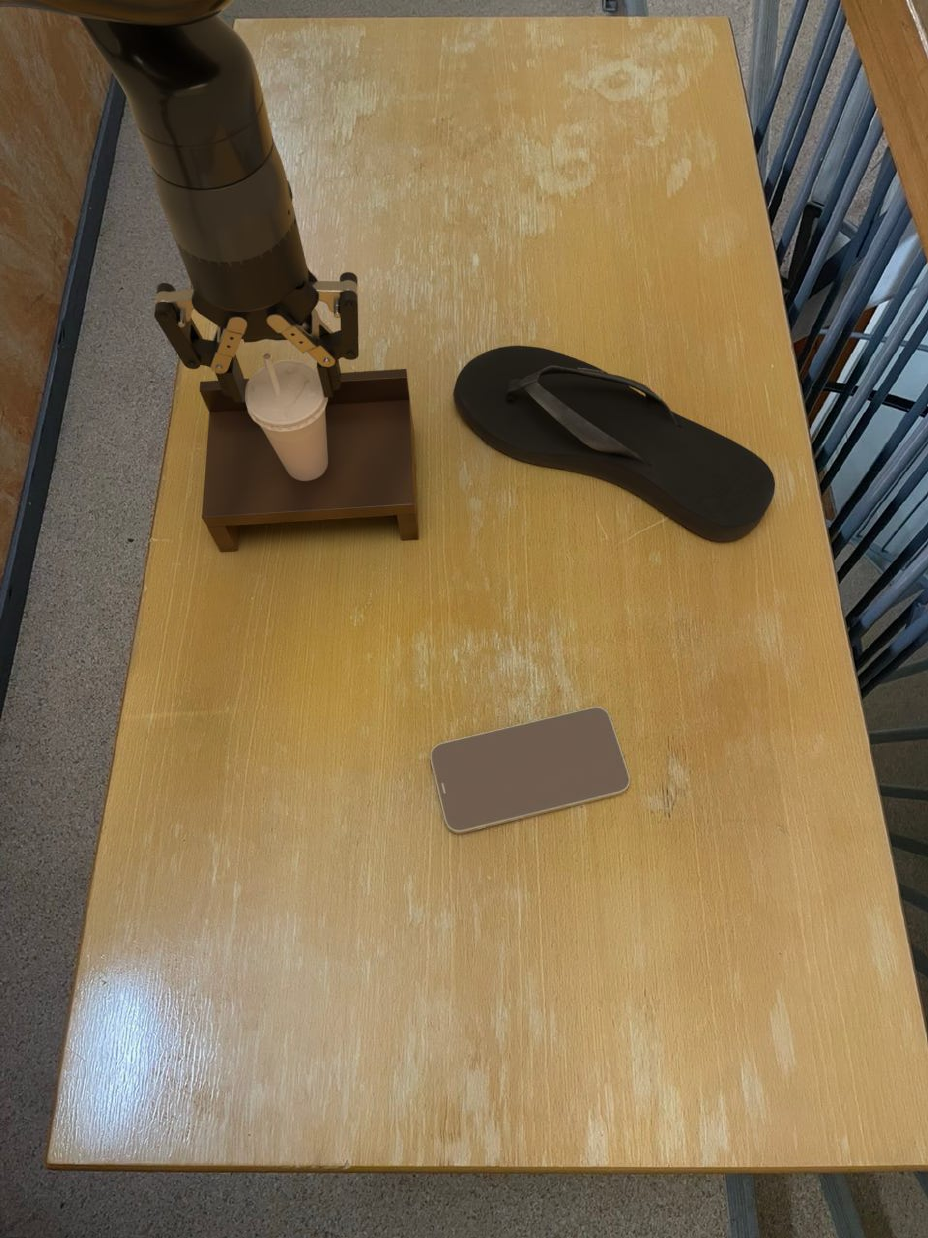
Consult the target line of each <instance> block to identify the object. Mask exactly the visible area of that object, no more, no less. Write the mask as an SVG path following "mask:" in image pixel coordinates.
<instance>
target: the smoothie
mask: <svg viewBox="0 0 928 1238" xmlns="http://www.w3.org/2000/svg"><path fill="white" fill-rule="evenodd" d="M262 358H263V362H264V364H265V365H264V366H262V367H260V368H259V369H257V370H256V371H255V372H254V373H253V374H252V375H251V376H250V378H248V379H249V381H248V383H247V385H246V388H245V402H246V405H247V409H248V413H249V414H250V416H251V417H252V419H253V420H254V421H255V422H256V423H258V424H259V425H260V426H261V428H262V429H263V431H264V433H265V434H266V436H267V438H268V439H269V441H270V443H271V445H272V446H273V448H274V450H275V451H276V453H277V455H278V456H279V458H280V460H281V462H282V463H283V465H284V467H285V468H286V470H287V472H288V473H289V475H290V476H292V477H293V478H295V479H297V480H301V481H309V480H313V479H316V478H318V477H319V476H321V475H322V474H323V473H324V472H325V470H326V468H327V466H328V452H327V435H326V418H325V407H326V404H327V401H328V397H324V394H323V390H322V386H321V382H320V378H319V374H318V370H317V367H315V366H313V365H311V364H310V363H308V362H305V361H303V360H297V359H281V360H280V359H279V360H276V361H273V358H272V356H271V354H270V353H268V352H266V353H264V354H263V355H262Z"/></svg>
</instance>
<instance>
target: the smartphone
mask: <svg viewBox="0 0 928 1238" xmlns="http://www.w3.org/2000/svg"><path fill="white" fill-rule="evenodd" d="M429 757H430V764H431V768H432V769H431V770H432V774H433V778H434V782H435V786H436V790H437V794H438V798H439V803H440V807H441V811H442V815H443V820H444V823H445V826H446V828H447V829H448V830H449V831H450V832H451V833H453V834H457V835H458V834H459V835H461V834H466V833H471V832H474V831H478V830H483V829H486V828H490V827H495V826H499V825H503V824H507V823H511V822H515V821H518V820H522V819H523V820H524V819H527V818H531V817H535V816H539V815H543V814H548V813H550V812H555V811H559V810H563V809H566V808H571V807H574V806H575V807H576V806H579V805H583V804H587V803H591V802H595V801H598V800H599V801H600V800H605V799H607V798H611V797H617V796H619V795H621V794H624V793H625V792H626V791H627V789H628V788H629V786H630V783H631V776H630V773H629V770H628V765H627V763H626V760H625V757H624V754H623V751H622V748H621V744H620V742H619V739H618V736H617V733H616V730H615V727H614V723H613V720H612V717H611V715H610V713H609V712H608V710H607V709H605V708H603V707H602V706H590V707H586V708H581V709H577V710H573V711H568V712H565V713H564V712H563V713H561V714H555V715H552V716H548V717H543V718H540V719H535V720H531V721H526V722H523V723H519V724H518V723H517V724H515V725H510V726H506V727H502V728H498V729H494V730H489V731H485V732H481V733H476V734H472V735H468V736H464V737H459V738H455V739H451V740H447V741H442V742H439V743H437V744H436V745H434V746H433V747H432V748H431V751H430V754H429Z"/></svg>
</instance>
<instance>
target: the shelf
mask: <svg viewBox="0 0 928 1238" xmlns="http://www.w3.org/2000/svg"><path fill="white" fill-rule="evenodd" d="M407 369H408V368H396V369H381V370H379V369H378V370H366V371H363V370H362V371H348V372H341V387H340V389H339V390H334V397H328V401H327V404H326V407H325V418H326V435H327V452H328V466H327V468H326V470H325V472H324V473H323V474H322V475H321V476H319V477H318V478H316V479H313V480H309V481H301V480H297V479H295V478H293V477H292V476H290V475H289V473H288V472H287V470H286V468H285V467H284V465H283V463H282V462H281V460H280V458H279V456H278V455H277V453H276V451H275V450H274V448H273V446H272V445H271V443H270V441H269V439H268V438H267V436H266V434H265V433H264V431H263V429H262V428H261V426H260V425H259V424H258V423H256V422H255V421H254V420H253V419H252V417H251V416H250V414H249V413H248V409H247V405H246V402H245V401H244V402H239V403H235V402H234V400H233V397H232V396H230V397H227V396H226V395H225V394H224V393H223V391H222V389H221V386H220V384H219V381H218V380H207V381H199V392H200V395H201V397H202V400H203V402H204V404H205V406H206V409H207V411H208V422H207V423H208V425H207V438H206V452H205V464H204V465H205V467H204V481H203V494H202V495H203V496H202V509H201V510H202V511H201V519H202V521H203V523H204V525H205V526H206V529H207V530H208V532H209V534H210V536H211V537H212V540H213V541H214V543H215V545H216V547H217V549H218V551H219V552H220V553H226V552H228V553H230V552H238V551H239V535H240V534H239V533H240V532H239V531H240V526H247V525H262V524H263V525H264V524H275V523H277V524H278V523H279V524H280V523H293V522H309V521H322V520H323V521H324V520H325V521H326V520H339V519H341V520H342V519H356V518H357V519H358V518H369V517H370V518H372V517H387V516H396V518H397V523H398V530H399V536H400V540H401V541H413V540H414V541H415V540H419V539H420V536H419V535H420V534H419V514H418V491H417V490H418V489H417V469H416V446H415V429H414V419H413V413H412V403H411V395H410V388H409V378H408V371H407ZM244 379H245V388H246V385H247V383H248V381H249V379H250V378H244Z"/></svg>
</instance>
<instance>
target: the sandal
mask: <svg viewBox="0 0 928 1238" xmlns="http://www.w3.org/2000/svg"><path fill="white" fill-rule="evenodd" d="M452 394H453V395H452V397H453V402H454V404H455V407H456V409H457V410H458V412H459V414H460V415H461V416H462V418H463V419H464V421H465V422H466V423H467V425H469V426H470V427H471V428H472V430H474V432H475V433H476V434H477V435H478V436H479V437H480V438H482V439H483V441H485V442H486V443H488V444H489V445H490V446H491V447H493V448H494V449H496V450H498V451H499V452H501V453H502V454H505V455H506V456H509V457H511V458H512V459H515V460H519V461H521V462H524V463H528V464H532V465H536V466H542V467H548V468H554V469H559V470H565V471H569V472H574V473H579V474H583V475H584V474H585V475H588V476H592V477H595V478H598V479H601V480H604V481H607V482H609V483H612V484H615V485H617V486H619V487H621V488H623V489H625V490H627V491H629V492H631V493H632V494H634V495H636V496H637V497H639V498H641V499H643V500H644V501H646V502H647V503H649V504H650V505H651V506H653V507H655V508H656V509H657V510H659V511H661V512H662V513H663V514H665V515H667V516H668V517H670V518H671V519H673V520H674V521H675V522H677V523H678V524H680V525H682V526H683V527H685V528H686V529H688V530H689V531H691V532H693V533H695V534H696V535H698V536H700V537H703V538H706V539H708V540H710V541H715V542H732V541H735V540H739V539H741V538H743V537H745V536H747V535H748V534H750V533H751V532H752V531H753V530H754V529H755V528H756V527H758V525H759V524H760V522H761V521H762V519H763V517H764V516H765V514H766V512H767V510H768V509H769V507H770V504H771V503H772V500H773V498H774V495H775V491H776V490H775V489H776V480H775V476H774V474H773V472H772V469H771V467H770V466H769V465H768V464H767V463H766V462H765V461H764V459H762V458H761V457H760V456H759V455H758V454H756V453H755V452H753V451H752V450H750V449H749V448H747V447H745V446H743V445H742V444H740V443H738V442H736V441H735V440H732V439H730V438H729V437H727V436H724V435H722V434H720V433H718V432H717V431H714V430H712V429H710V428H708V427H706V426H704V425H702V424H700V423H697V422H695V421H693V420H692V419H689V418H686V417H685V416H683V415H680V414H678V413H676V412H675V411H672V410H671V408H670V406H669V405H668V404H667V403H666V401H665V400H664V399H662V397H660V396H659V395H658V394H656V393H655V392H654V391H653V390H652V389H651V388H650V387H648V386H647V385H646V384H643V383H641V382H639V381H636V380H634V379H630V378H627V377H625V376H621V375H618V374H612V373H609V372H607V371H606V370H603V369H601V368H599V367H598V366H596V365H593V364H591V363H588V362H586V361H584V360H580V359H578V358H576V357H572V356H570V355H567V354H565V353H562V352H558V351H554V350H551V349H547V348H544V347H538V346H529V345H507V346H501V347H497V348H494V349H491V350H487V351H485V352H483V353H481V354H479V355H476V356H475V357H473V358H471V360H469V361H468V362H467V363H466V364H465V365H464V366H463V368H462V370H460V372H459V373H458V376H457V378H456V382H455V385H454V388H453V392H452Z"/></svg>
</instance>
